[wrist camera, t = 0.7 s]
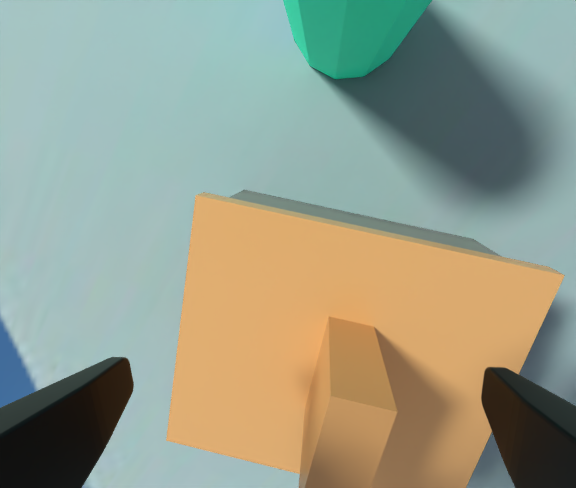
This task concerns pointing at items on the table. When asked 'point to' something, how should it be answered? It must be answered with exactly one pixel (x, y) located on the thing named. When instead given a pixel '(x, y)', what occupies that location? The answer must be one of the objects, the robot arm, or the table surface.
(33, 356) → the table surface
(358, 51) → the candle
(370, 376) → the lid
